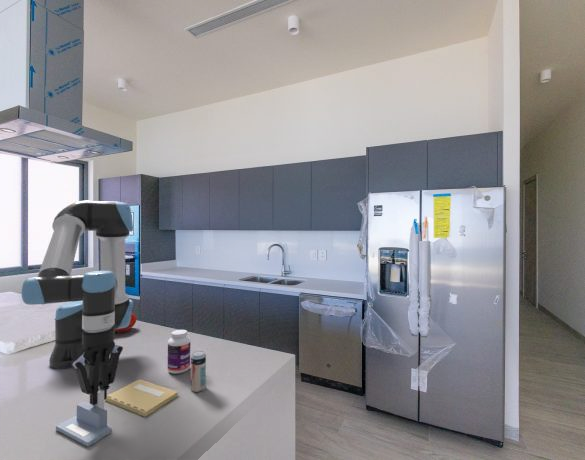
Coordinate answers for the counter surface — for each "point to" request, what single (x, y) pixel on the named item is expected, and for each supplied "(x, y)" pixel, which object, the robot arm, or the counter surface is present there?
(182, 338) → the pill bottle
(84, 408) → the stub
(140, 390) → the tan notebook
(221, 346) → the counter surface
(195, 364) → the beer can
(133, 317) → the red rounded piece
